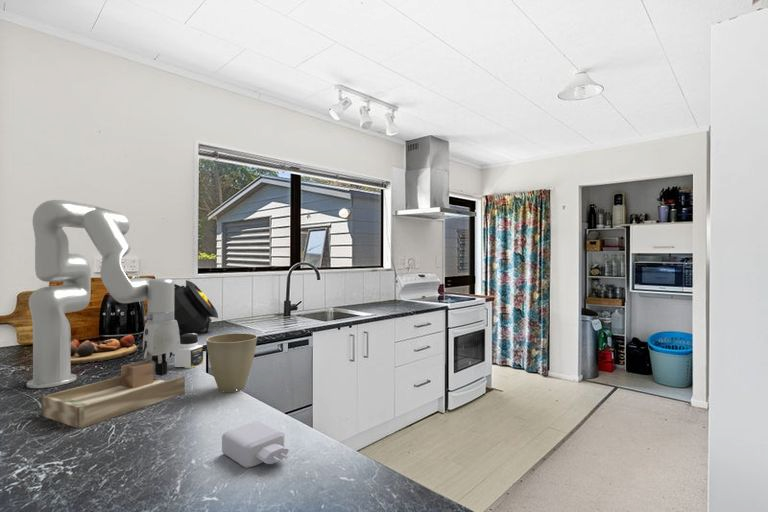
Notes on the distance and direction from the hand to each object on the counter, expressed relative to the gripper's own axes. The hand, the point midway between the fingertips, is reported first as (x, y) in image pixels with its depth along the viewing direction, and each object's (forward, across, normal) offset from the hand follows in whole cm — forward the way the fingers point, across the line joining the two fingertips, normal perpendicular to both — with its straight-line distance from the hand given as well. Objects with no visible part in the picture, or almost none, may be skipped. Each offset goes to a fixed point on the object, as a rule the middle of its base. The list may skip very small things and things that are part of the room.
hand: (161, 374), depth 128 cm
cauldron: (+4, +63, +71) cm, 95 cm away
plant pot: (+4, +8, -23) cm, 25 cm away
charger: (+4, -21, -62) cm, 66 cm away
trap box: (+4, -16, -4) cm, 17 cm away
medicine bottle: (+4, +20, +13) cm, 24 cm away
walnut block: (+1, -8, 0) cm, 8 cm away
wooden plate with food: (+4, +13, +65) cm, 66 cm away
